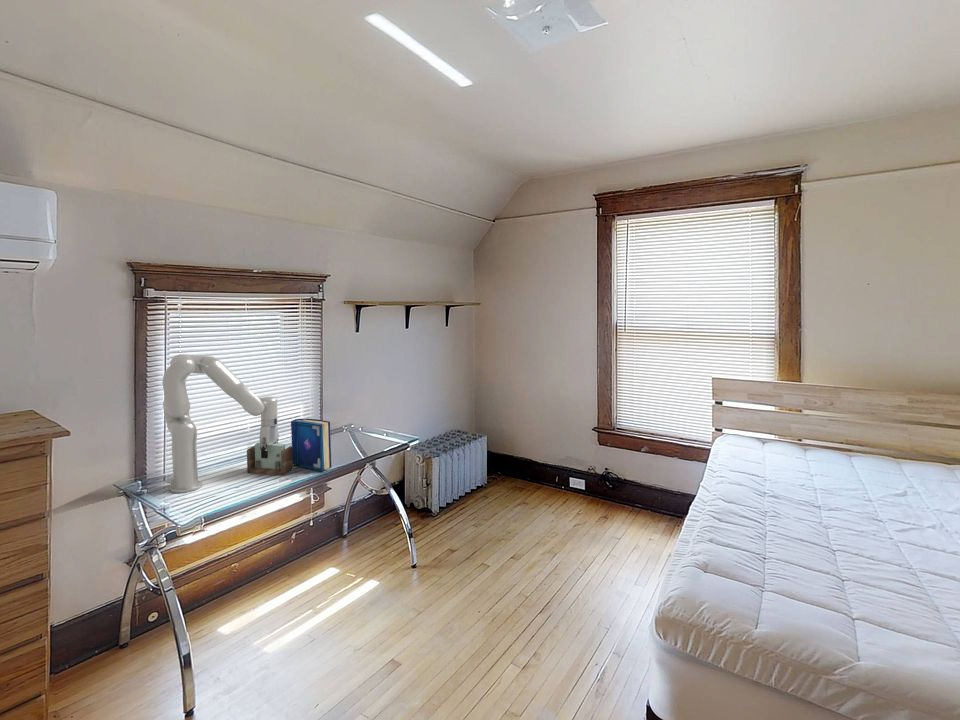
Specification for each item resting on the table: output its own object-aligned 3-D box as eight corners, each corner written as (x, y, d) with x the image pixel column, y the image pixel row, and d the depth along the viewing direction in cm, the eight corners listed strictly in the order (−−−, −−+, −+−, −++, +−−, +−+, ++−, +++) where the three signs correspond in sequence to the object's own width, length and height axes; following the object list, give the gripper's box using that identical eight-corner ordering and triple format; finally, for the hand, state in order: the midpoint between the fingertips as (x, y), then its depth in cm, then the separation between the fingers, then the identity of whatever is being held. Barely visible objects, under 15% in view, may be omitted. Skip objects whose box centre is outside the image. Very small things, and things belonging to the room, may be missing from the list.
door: (254, 468, 241) (253, 444, 239) (258, 465, 245) (257, 442, 243) (281, 469, 240) (281, 446, 238) (285, 467, 244) (284, 444, 242)
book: (289, 465, 251) (288, 418, 248) (299, 461, 258) (299, 416, 255) (322, 472, 243) (322, 424, 240) (332, 468, 250) (331, 421, 246)
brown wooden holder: (247, 473, 239) (246, 449, 238) (257, 467, 248) (256, 444, 247) (284, 475, 238) (284, 451, 236) (292, 469, 247) (292, 446, 245)
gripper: (270, 417, 249) (271, 449, 250) (252, 425, 231) (252, 460, 233) (284, 418, 248) (285, 450, 250) (267, 426, 231) (267, 461, 233)
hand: (269, 455), depth 242 cm, fingers open, 9 cm apart
